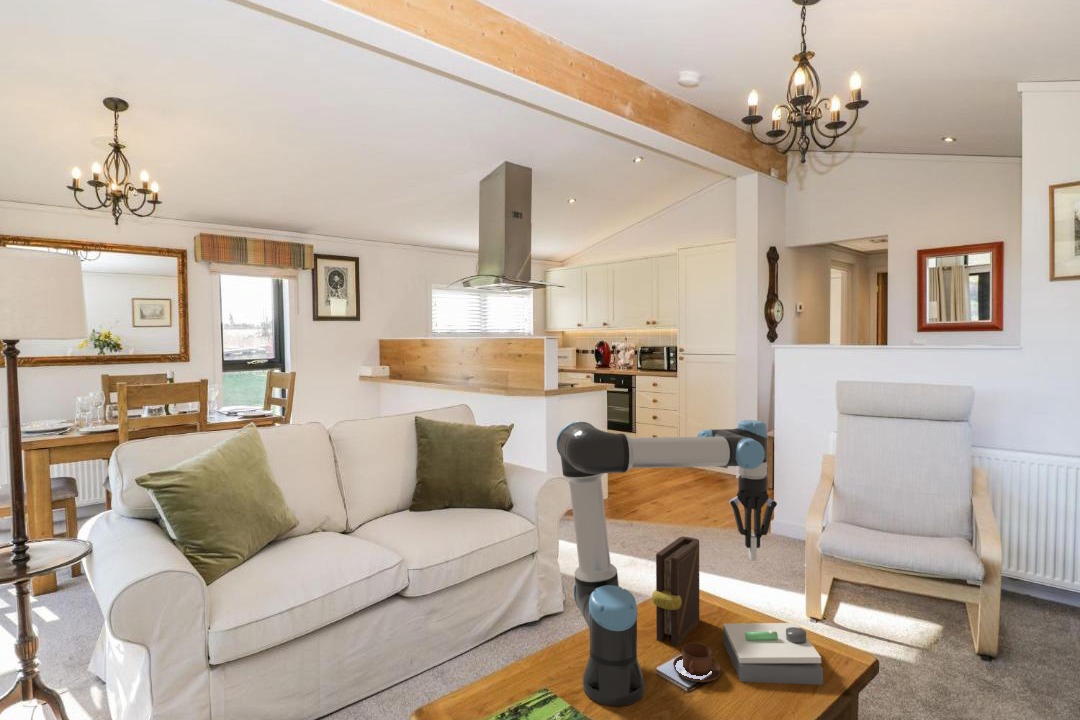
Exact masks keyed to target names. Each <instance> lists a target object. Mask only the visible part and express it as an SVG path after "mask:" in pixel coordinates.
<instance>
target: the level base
mask: <svg viewBox="0 0 1080 720" xmlns="http://www.w3.org/2000/svg"><path fill="white" fill-rule="evenodd" d="M722 643H723V645H724V647H725V648H726V652H727V653H728V656H729V659H730V660H731V663H732V665H733V668H734V670H735V672H736V674H737V677H738V679H739V682H742V683H762V684H763V683H768V684H769V683H770V684H787V685H788V684H789V685H790V684H791V685H792V684H793V685H815V686H816V685H817V686H818V685H819V686H822V685H823V686H824V669H823V668H824V667H822V666H821V665H820V664H821V663H739V661H738V659H737V657H736V655H735V652H734V650H733V648H732V646H731V644H730V641H729V639H728V637H727V635H726V633H725V631H724V626H722Z"/></svg>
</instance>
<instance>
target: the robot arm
mask: <svg viewBox="0 0 1080 720" xmlns="http://www.w3.org/2000/svg"><path fill="white" fill-rule="evenodd" d="M556 449H557V453H558V454H559V456H560V460H561V470H562V476H563V477H564V478H565V479H567V480H568V481H569V489H570V497H571V506H572V507H571V508H572V515H573V523H574V524H573V525H574V526H573V527H574V533H575V542H576V543H575V544H576V550H577V560H578V567H576V569H575V570H574V573H573V574H574V584H573V597H574V601H575V604H576V606H577V608H578V610H579V611H580V613H581V615H582V617H583V619H584V620H585V622H586V624H587V627H588V628H589V629H588V630H589V657H588V661H587V664H586V667H585V670H584V672H583V676H582V688H583V691H584V693H585V695H586V696H587V697H588V698H590V699H591V700H593V702H594V701H595V702H596V703H599V704H601V705H605V706H610V707H623V706H629V705H632V704H634V703H636V702H638V701H640V700H641V699H642V697H643V696H644V694H645V679H644V675H643V672H642V669H641V666H640V662H639V660H638V615H639V613H638V607H637V601H636V597H635V596H634V594H632V592H630V591H629V589H626V588H622V586H620V585H619V576H618V575H619V574H618V569H617V567H616V566H615V565H613V564H612V563H611V557H610V555H611V554H610V547H609V545H610V544H609V538H608V529H607V519H606V511H605V501H604V500H605V499H604V493H603V484H602V477H603V476H604V474H619V473H620V474H625V473H628V471H630V469H652V468H654V469H655V468H656V469H657V468H658V469H659V468H662V469H663V468H664V469H665V468H700V467H701V468H703V467H706V468H707V467H709V468H710V467H738V482H737V483H738V491H737V494H736V496H735V497H733V498H729V499H728V502H729V504H730V506H731V507H732V511H733V515H734V518H735V523H736V527H737V531H738V533H739V534H740V535H743V536H744V545H745V547H746V548H747V549H748V559H750V561H754V562H757V560H758V559H757V557H758V554H757V552H758V550H757V549H760V547H761V538H762V536H767V534H768V532H769V527H770V524H771V520H772V516H773V513H774V510H775V508H776V506H777V505H778V502H777V501H775V500H774V499H771V497H769V494H768V478H767V476H768V462H767V459H768V458H767V457H768V456H767V455H768V429H767V424H766V423H765V422H764V421H761V420H752V419H746V420H745V419H744V420H740V421H739V422H738V425H737V428H730V429H729V428H728V429H727V428H723V429H722V428H721V429H712V428H710V429H704V430H699V432H698V433H697V436H673V437H672V436H668V437H667V436H666V437H665V436H661V437H660V436H658V437H655V436H654V437H650V436H649V437H644V436H643V437H642V436H641V437H629V436H628V434H627V433H616V432H608V431H604V430H602V429H599V428H596V426H594V425H592V423H590V422H586V421H580V420H579V421H576V420H575V421H572V422H569V423H567V424H566V425H564V426H563V427H562V428H561V429H560V431H559V432H558V434H557V438H556ZM739 502H740V504H741V505H742V507H743V510H744V525H743V520H742V516H741V512H740V508H739V505H740V504H739ZM764 505H766V507H765V510H764V514H763V517H762V518H761V515H762V508H763V507H764ZM752 511H753V512H752ZM752 513H753V533H754V534H752ZM761 519H762V520H761Z"/></svg>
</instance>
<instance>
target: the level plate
mask: <svg viewBox="0 0 1080 720" xmlns="http://www.w3.org/2000/svg"><path fill="white" fill-rule="evenodd" d="M723 627H724V631H725V633H726V635H727V637H728V639H729V641H730V644H731V646H732V648H733V650H734V652H735V655H736V657H737V659H738V661H739V663H819V664H822V656H821V655H820V653H819V652H818V651H817V649H816V648H815V647H814V646H813V644H812V643H811V641H810V640H809V639H808V637H807V631H806V630H804V629H803V628H801V627H800V626H799V625H798V623H797V622H765V623H764V622H759V623H755V622H754V623H752V622H751V623H750V622H749V623H748V622H747V623H746V622H744V623H735V622H734V623H723Z"/></svg>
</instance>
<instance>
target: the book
mask: <svg viewBox="0 0 1080 720" xmlns="http://www.w3.org/2000/svg"><path fill="white" fill-rule="evenodd" d="M655 572H656V573H655V575H656V576H655V580H656V581H655V588H656V589H655V590H654V591H652V595H651V596H652V597H651V600H652V603H653V604H654V605H655V607H656V608H655V609H656V610H655V611H656V613H655V616H656V617H655V618H656V628H655V629H656V631H655V632H656V641H658V642H660V643H661V642H664V640H666V638H667V637H669V635H670V637H671V638H670V639H671V646H674V647H678V646H679V645H680V644H681V643H682V642H683V641H684V640H685V638H686V637H688V635H689V634H690V633H691V632H692V631H693V630H694V629H695V628H696V627H697V625H698V624H699V623H700V539H698V538H695V537H689V536H680V537H678V538H676V539H675V540H674V541H672V542H670V543H669V544H668V545H666V547H664V548H662V549H661V550H659V551H658V552H657V553H656V554H655Z"/></svg>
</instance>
